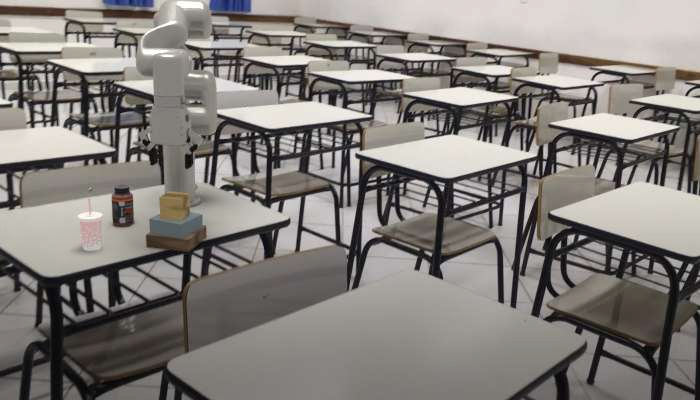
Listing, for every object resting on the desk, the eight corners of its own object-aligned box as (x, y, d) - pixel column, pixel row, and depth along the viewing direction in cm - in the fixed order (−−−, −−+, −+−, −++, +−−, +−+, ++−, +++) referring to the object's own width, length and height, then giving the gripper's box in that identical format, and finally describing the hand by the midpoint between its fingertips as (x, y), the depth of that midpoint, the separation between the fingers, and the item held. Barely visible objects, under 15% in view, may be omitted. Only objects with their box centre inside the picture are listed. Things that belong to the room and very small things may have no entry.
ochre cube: (169, 212, 190) (168, 191, 188) (190, 214, 189) (189, 193, 187) (160, 219, 184) (159, 197, 182) (181, 221, 183) (181, 199, 182)
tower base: (166, 234, 196) (166, 220, 195) (206, 239, 194) (206, 225, 193) (146, 249, 185) (145, 234, 184) (188, 254, 183) (188, 240, 181)
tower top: (172, 221, 194) (171, 208, 193) (202, 227, 191) (202, 213, 190) (149, 232, 185) (149, 218, 184) (181, 238, 182) (181, 224, 181)
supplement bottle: (127, 228, 198) (125, 190, 195) (108, 225, 199) (106, 187, 196) (138, 221, 204) (136, 184, 200) (119, 219, 205) (117, 182, 201)
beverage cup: (95, 241, 186) (92, 192, 182) (109, 247, 183) (106, 196, 179) (75, 247, 182) (71, 196, 178) (89, 253, 178) (85, 201, 174)
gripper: (206, 101, 179) (207, 165, 185) (144, 96, 182) (147, 159, 187) (195, 106, 172) (196, 172, 178) (130, 101, 175) (134, 166, 180)
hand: (171, 166), depth 183 cm, fingers open, 9 cm apart
